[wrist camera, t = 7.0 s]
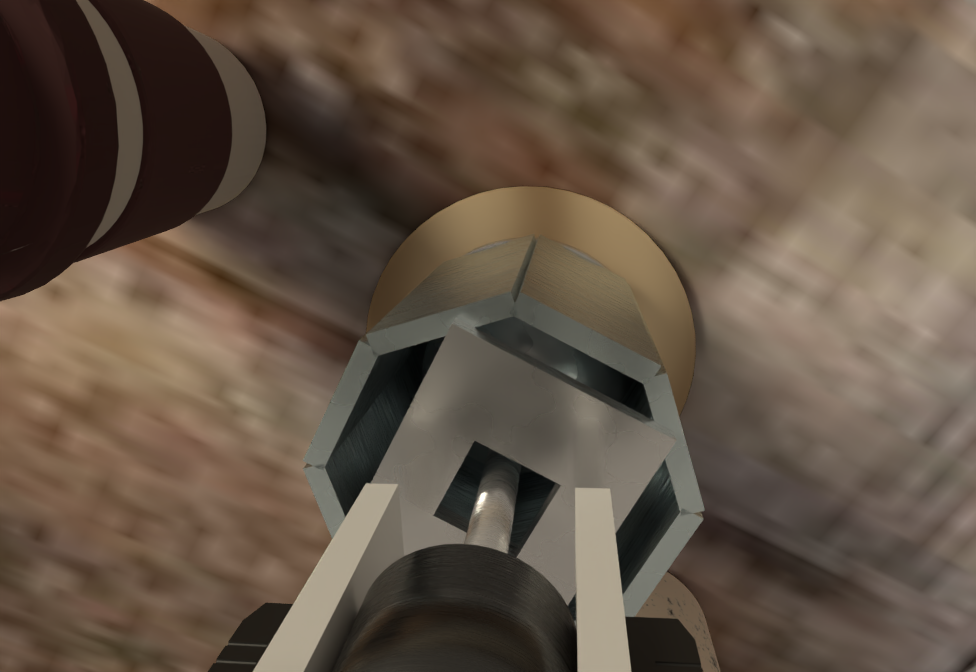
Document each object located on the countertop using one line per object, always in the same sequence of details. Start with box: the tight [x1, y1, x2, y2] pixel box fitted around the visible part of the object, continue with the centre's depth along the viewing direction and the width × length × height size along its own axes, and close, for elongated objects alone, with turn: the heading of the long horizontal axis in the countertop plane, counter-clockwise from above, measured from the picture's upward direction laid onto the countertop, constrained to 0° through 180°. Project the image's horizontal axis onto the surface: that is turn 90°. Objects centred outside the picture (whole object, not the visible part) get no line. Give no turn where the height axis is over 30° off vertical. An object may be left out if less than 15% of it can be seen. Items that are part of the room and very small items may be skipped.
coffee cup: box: [0, 0, 266, 301], centre depth 22 cm, size 10×10×15 cm
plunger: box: [331, 316, 623, 672], centre depth 18 cm, size 8×8×19 cm
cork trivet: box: [366, 186, 696, 416], centre depth 29 cm, size 14×14×1 cm
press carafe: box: [303, 234, 705, 626], centre depth 24 cm, size 10×13×12 cm
